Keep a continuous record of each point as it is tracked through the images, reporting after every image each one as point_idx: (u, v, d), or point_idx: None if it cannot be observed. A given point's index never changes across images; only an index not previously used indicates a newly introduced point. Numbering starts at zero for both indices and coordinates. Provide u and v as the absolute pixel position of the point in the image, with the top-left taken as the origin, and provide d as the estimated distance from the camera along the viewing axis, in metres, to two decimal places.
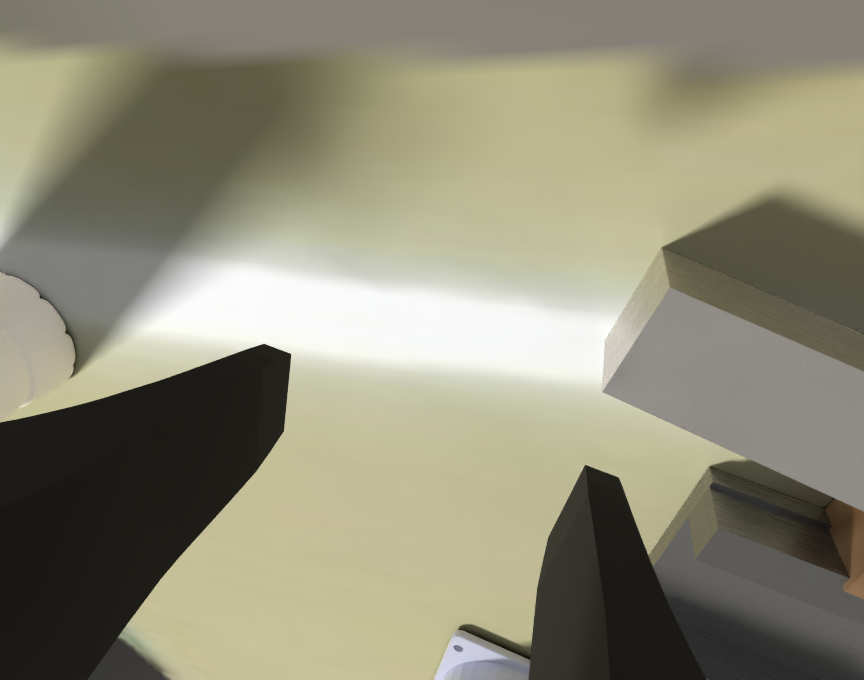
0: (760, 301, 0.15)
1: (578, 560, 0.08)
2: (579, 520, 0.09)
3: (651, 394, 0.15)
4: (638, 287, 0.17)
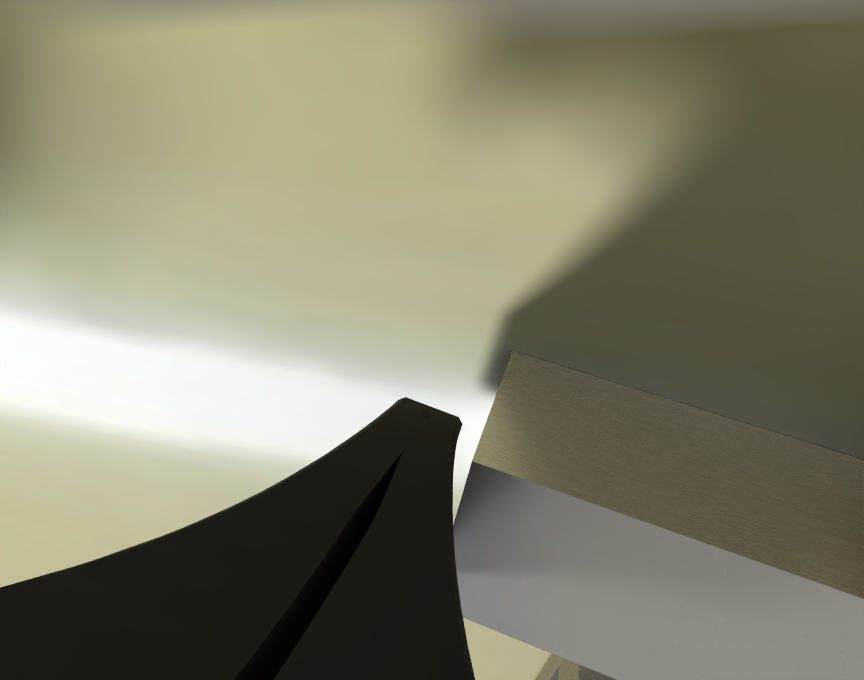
0: (658, 438, 0.09)
1: None
2: None
3: (500, 610, 0.09)
4: None
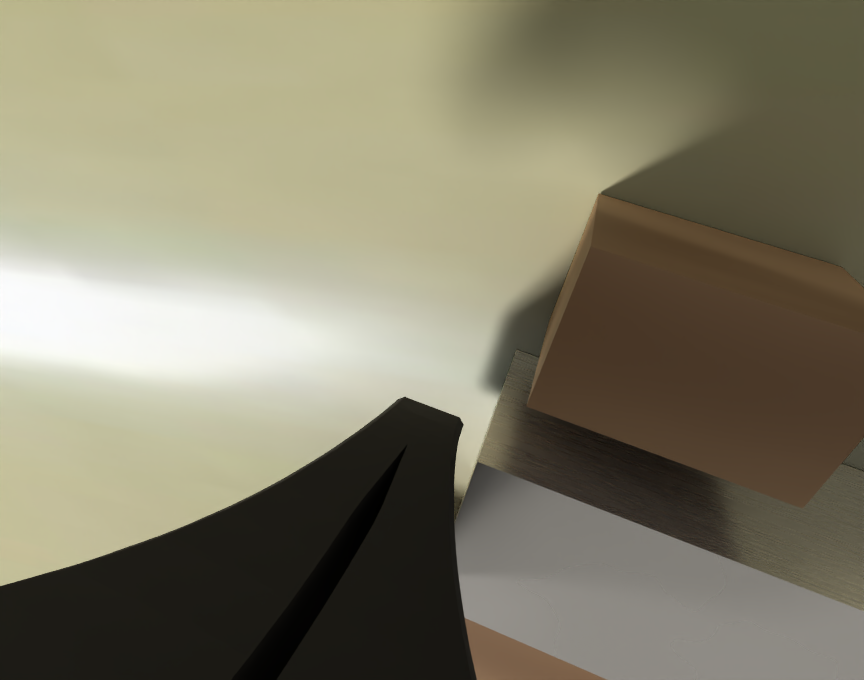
0: None
1: None
2: None
3: (496, 609, 0.09)
4: None
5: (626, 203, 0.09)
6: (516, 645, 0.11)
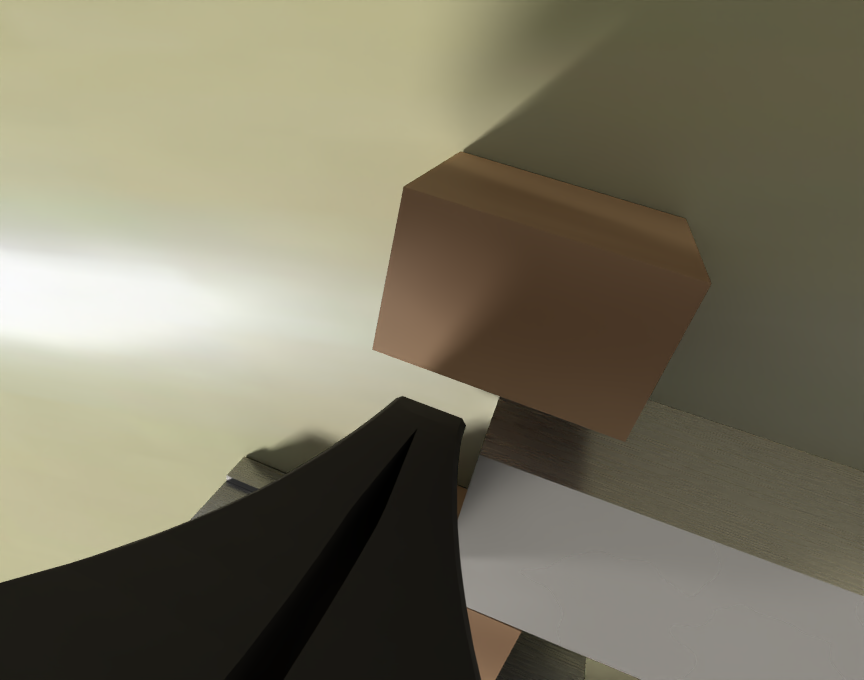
0: (657, 436, 0.10)
1: None
2: None
3: (501, 599, 0.10)
4: None
5: (485, 160, 0.09)
6: None
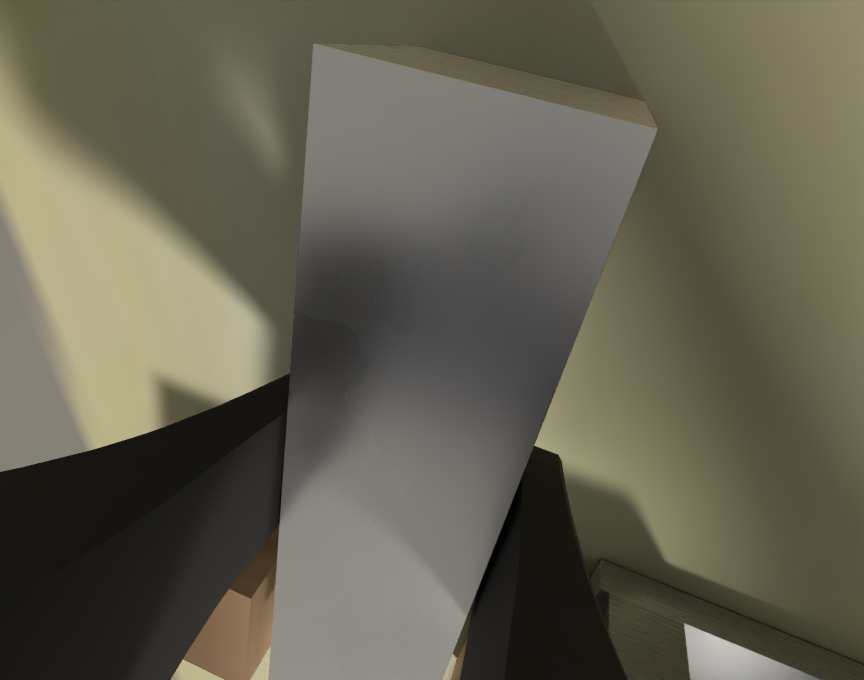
0: None
1: (508, 532, 0.08)
2: None
3: None
4: None
5: None
6: None
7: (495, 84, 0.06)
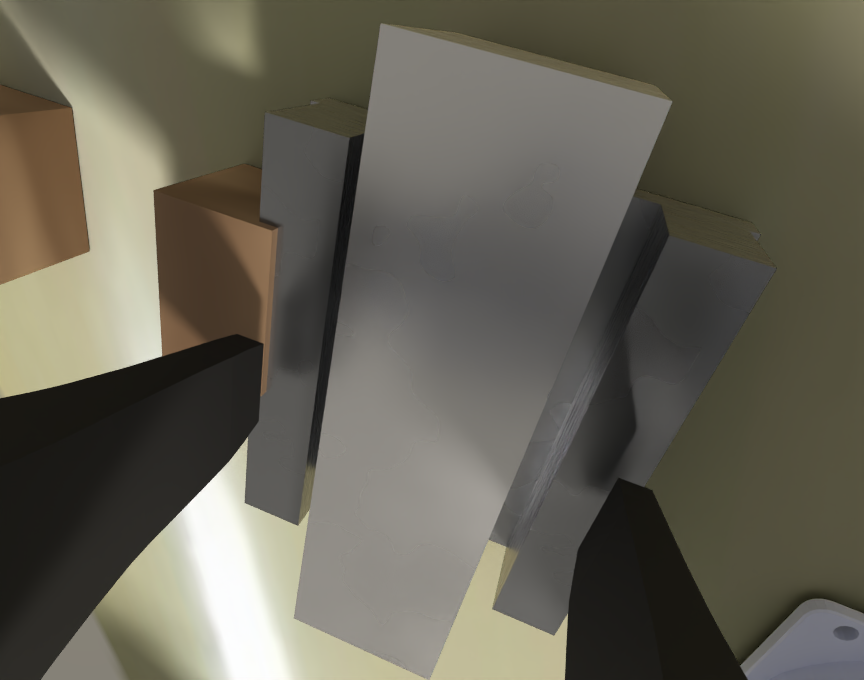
0: None
1: (617, 576, 0.08)
2: (616, 534, 0.08)
3: (416, 643, 0.12)
4: None
5: None
6: (176, 306, 0.12)
7: (534, 62, 0.07)
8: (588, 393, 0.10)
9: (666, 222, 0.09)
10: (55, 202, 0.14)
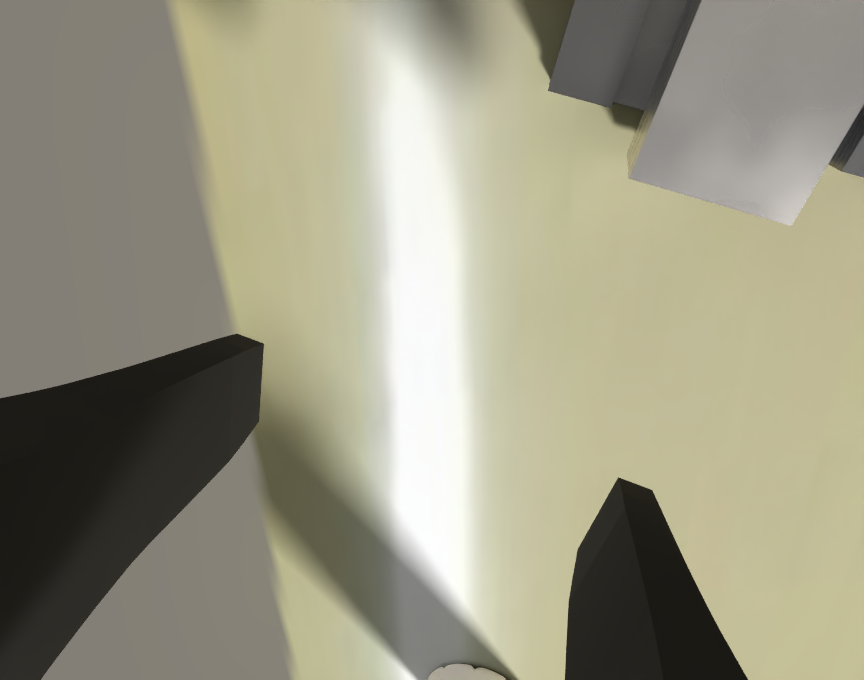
0: (677, 38, 0.13)
1: (617, 576, 0.08)
2: (616, 535, 0.08)
3: (794, 164, 0.11)
4: None
5: None
6: None
7: None
8: None
9: None
10: None
